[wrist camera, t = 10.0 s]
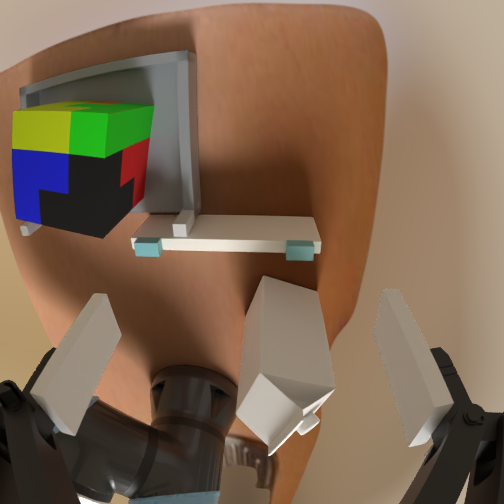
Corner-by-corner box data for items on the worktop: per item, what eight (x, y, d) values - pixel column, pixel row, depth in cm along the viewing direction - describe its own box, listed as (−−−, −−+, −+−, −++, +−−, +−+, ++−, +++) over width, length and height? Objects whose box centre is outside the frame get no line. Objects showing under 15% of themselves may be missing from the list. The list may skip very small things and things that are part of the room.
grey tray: (201, 208, 34) (186, 236, 28) (54, 212, 35) (22, 235, 29) (196, 54, 26) (177, 44, 20) (37, 86, 27) (-1, 91, 21)
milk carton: (244, 317, 41) (231, 449, 24) (263, 273, 37) (257, 412, 21) (295, 331, 42) (304, 459, 25) (317, 290, 38) (343, 425, 22)
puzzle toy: (68, 184, 32) (16, 218, 23) (72, 100, 27) (13, 111, 18) (143, 197, 32) (102, 238, 24) (154, 105, 28) (108, 113, 19)
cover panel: (312, 228, 34) (321, 260, 28) (151, 225, 35) (128, 255, 29) (313, 216, 34) (323, 246, 27) (150, 214, 34) (126, 242, 28)
